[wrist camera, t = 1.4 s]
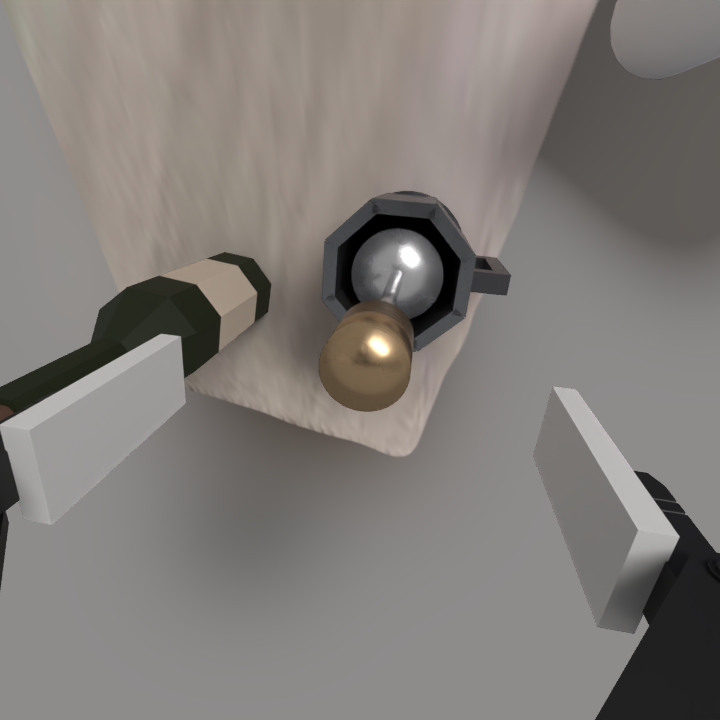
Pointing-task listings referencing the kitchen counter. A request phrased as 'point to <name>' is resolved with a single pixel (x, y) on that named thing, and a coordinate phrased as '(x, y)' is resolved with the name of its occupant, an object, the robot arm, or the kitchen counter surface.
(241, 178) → the kitchen counter surface
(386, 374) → the plunger
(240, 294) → the wine bottle
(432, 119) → the kitchen counter surface
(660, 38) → the white rounded cylinder
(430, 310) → the dark grey mug
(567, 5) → the kitchen counter surface
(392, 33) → the kitchen counter surface
